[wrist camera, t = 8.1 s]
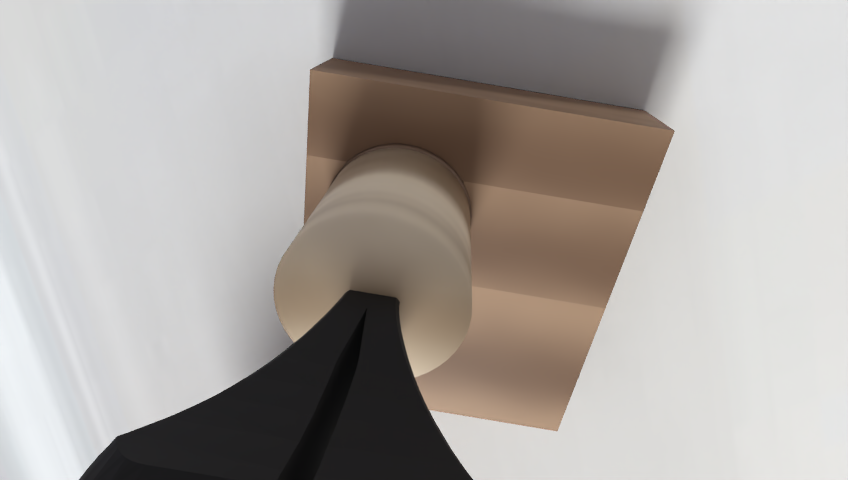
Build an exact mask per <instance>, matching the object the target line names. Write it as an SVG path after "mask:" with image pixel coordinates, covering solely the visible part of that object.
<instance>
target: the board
mask: <svg viewBox="0 0 848 480" xmlns="http://www.w3.org/2000/svg"><path fill="white" fill-rule="evenodd" d="M673 134H674V130H673V129H671V128H670V127H668V126H667V125H665V124H664V123H662V122H661V121H659V120H658V119H656V118H655V117H653V116H652V115H650V114H649V113H647V112H646V111H644V110H638V109H632V108H626V107H620V106H614V105H608V104H602V103H596V102H590V101H584V100H578V99H573V98H567V97H561V96H555V95H549V94H543V93H537V92H531V91H525V90H519V89H513V88H507V87H501V86H495V85H489V84H483V83H477V82H472V81H466V80H460V79H454V78H448V77H442V76H436V75H430V74H424V73H418V72H412V71H406V70H400V69H394V68H388V67H382V66H376V65H371V64H365V63H359V62H353V61H347V60H341V59H335V58H332V59H330V60H328V61H326V62H324V63H322V64H320V65H318V66H316V67H314V68H312V69H310V87H309V112H308V137H307V162H306V187H305V212H304V224H305V223H306V221H307V220H308V218H309V217H310V215H311V214H312V213H313V211H314V210H315V208H316V207H317V205H318V204H319V202H320V201H321V199H322V198H323V196H324V195H325V193H326V192H327V190H328V189H329V187H330V185H331V183H332V181H333V179H334V178H335V176H336V175H337V173H338V172H339V170H340V169H341V168H342V167H343V166H344V164H345V163H346V162H347V161H349V160H350V159H351V158H352V157H354V156H355V155H357V154H358V153H360V152H362V151H364V150H366V149H368V148H371V147H374V146H378V145H383V144H390V143H401V144H408V145H413V146H417V147H421V148H423V149H426V150H428V151H430V152H432V153H434V154H436V155H438V156H439V157H441V158H442V159H443V160H445V161H446V162H447V163H448V164H449V165H450V166H451V167H452V168H453V169H454V170H455V171H456V172H457V174H458V175H459V176H460V178H461V179H462V181H463V183H464V185H465V187H466V189H467V192H468V195H469V198H470V203H471V213H472V217H471V229H470V230H471V272H472V316H471V322H470V326H469V329H468V332H467V334H466V336H465V338H464V340H463V342H462V344H461V345H460V346H459V348H458V349H457V350H456V352H455V353H454V354H453V355H452V356H451V357H450V358H449V359H448V360H447V361H445V362H444V363H443V364H441V365H440V366H439V367H437V368H435V369H433V370H431V371H430V372H428V373H425V374H423V375H420V376H418V377H415V380H416V382H417V385H418V387H419V390H420V392H421V394H422V396H423V399H424V401H425V403H426V405H427V407H428V409H429V410H433V411H439V412H445V413H451V414H457V415H463V416H469V417H475V418H481V419H487V420H493V421H499V422H505V423H511V424H517V425H523V426H529V427H535V428H541V429H547V430H553V431H558V428H559V425H560V423H561V420H562V418H563V415H564V413H565V410H566V408H567V405H568V402H569V400H570V397H571V395H572V392H573V390H574V387H575V385H576V382H577V379H578V377H579V374H580V372H581V369H582V367H583V364H584V362H585V359H586V356H587V354H588V351H589V349H590V346H591V344H592V341H593V339H594V336H595V333H596V331H597V328H598V326H599V323H600V321H601V318H602V316H603V313H604V310H605V308H606V305H607V303H608V300H609V298H610V295H611V292H612V290H613V287H614V285H615V282H616V280H617V277H618V275H619V272H620V269H621V267H622V264H623V262H624V259H625V257H626V254H627V252H628V249H629V246H630V244H631V241H632V239H633V236H634V234H635V231H636V229H637V226H638V223H639V221H640V218H641V216H642V213H643V211H644V208H645V206H646V203H647V200H648V198H649V195H650V193H651V190H652V188H653V185H654V183H655V180H656V177H657V175H658V172H659V170H660V167H661V165H662V162H663V160H664V157H665V154H666V152H667V149H668V147H669V144H670V142H671V139H672V137H673Z"/></svg>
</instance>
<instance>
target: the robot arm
mask: <svg viewBox="0 0 848 480" xmlns="http://www.w3.org/2000/svg"><path fill="white" fill-rule="evenodd" d="M399 305H400V301H399V300H398V299H397V298H396V297H390V296H384V295H378V294H372V293H366V292H360V291H354V290H349V291H347V292H346V293H345V294H344V295H343V296H342V297H341V298H340V299H339V301H338V302H337V303H336V304H335V305H334V306H333V307H332V308H331V309H330V310H329V311H328V312H327V313H326V314H325V315H324V316H323V317H322V318H321V319H320V320H319V321H318V322H317V323H316V324H315V325H314V326H313V327H312V328H311V329H310V330H309V331H308V332H306V333H305V334H304V335H303V336H302V337H301V338H299V339H298V340H297V341H296V342H295V343H293V344H292V345H291V346H290V347H289V348H287V349H286V350H285V351H284V352H282V353H281V354H280V355H278V356H277V357H276V358H274V359H273V360H272V361H270V362H269V363H268V364H266V365H265V366H263V367H262V368H260V369H259V370H257V371H256V372H254V373H253V374H251V375H250V376H248V377H246V378H245V379H243V380H241V381H240V382H238V383H236V384H235V385H233V386H231V387H230V388H228V389H226V390H224V391H223V392H221V393H219V394H217V395H215V396H213V397H211V398H209V399H207V400H205V401H203V402H201V403H199V404H197V405H195V406H193V407H190V408H188V409H186V410H184V411H182V412H179V413H177V414H175V415H172V416H170V417H168V418H165V419H163V420H160V421H157V422H155V423H152V424H149V425H147V426H144V427H142V428H139V429H136V430H134V431H131V432H128V433H125V434H123V435H120V436H117V437H116V438H115V439H114V440H113V442H112V443H111V444H110V445H109V446H108V447H107V448H106V449H105V450H104V451H103V452H102V453H101V454H100V455H99V456H98V457H97V458H96V460H95V461H94V462H93V463H92V464H91V465H90V467H89V468H88V469H87V470H86V471H85V473H84V474H83V475H82V477H81V478H80V479H79V480H473V479H472V478H471V477H470V475H469V474H468V473H467V471H466V470H465V469H464V467H463V466H462V464H461V463H460V461H459V460H458V458H457V457H456V456H455V454H454V453H453V451H452V450H451V448H450V446H449V445H448V443H447V441H446V440H445V438H444V436H443V435H442V433H441V431H440V430H439V428H438V426H437V425H436V423H435V421H434V419H433V417H432V415H431V413H430V411H429V409H428V407H427V405H426V403H425V401H424V399H423V396H422V394H421V392H420V390H419V387H418V385H417V382H416V380H415V377H414V374H413V371H412V368H411V365H410V362H409V359H408V356H407V352H406V348H405V344H404V340H403V336H402V331H401V325H400V316H399Z"/></svg>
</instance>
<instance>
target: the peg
mask: <svg viewBox="0 0 848 480" xmlns="http://www.w3.org/2000/svg"><path fill="white" fill-rule="evenodd" d="M471 217H472V213H471V203H470V198H469V195H468V192H467V189H466V187H465V185H464V183H463V181H462V179H461V178H460V176H459V175H458V174H457V172H456V171H455V170H454V169H453V168H452V167H451V166H450V165H449V164H448V163H447V162H446V161H445V160H443V159H442V158H441V157H439V156H438V155H436V154H434V153H432V152H430V151H428V150H426V149H423V148H421V147H417V146H413V145H408V144H401V143H390V144H383V145H378V146H374V147H371V148H368V149H366V150H364V151H362V152H360V153H358V154H357V155H355V156H354V157H352V158H351V159H350V160H349V161H347V162H346V163H345V164H344V166H343V167H342V168H341V169H340V170H339V172H338V173H337V175H336V176H335V178H334V179H333V181H332V183H331V185H330V187H329V189H328V190H327V192H326V193H325V195H324V196H323V198H322V199H321V201H320V202H319V204H318V205H317V207H316V208H315V210H314V211H313V213H312V214H311V215H310V217H309V218H308V220H307V221H306V223H305V224H304V226H303V227H302V229H301V230H300V232H299V233H298V235H297V236H296V237H295V239H294V240H293V242H292V243H291V245H290V246H289V248H288V249H287V251H286V252H285V254H284V255H283V257H282V259H281V261H280V263H279V265H278V268H277V271H276V275H275V280H274V301H275V306H276V311H277V313H278V316H279V319H280V321H281V323H282V325H283V327H284V329H285V331H286V332H287V334H288V335H289V337H290V338H291V339H292V341H293V342H294V343H295V342H296V341H297V340H298V339H299V338H301V337H302V336H303V335H304V334H305V333H306V332H308V331H309V330H310V329H311V328H312V327H313V326H314V325H315V324H316V323H317V322H318V321H319V320H320V319H321V318H322V317H323V316H324V315H325V314H326V313H327V312H328V311H329V310H330V309H331V308H332V307H333V306H334V305H335V304H336V303H337V302H338V301H339V299H340V298H341V297H342V296H343V295H344V294H345V293H346V292H347V291H349V290H354V291H360V292H366V293H372V294H378V295H384V296H390V297H396V298H397V299H398V300H399V301H400V305H399V316H400V325H401V331H402V336H403V340H404V344H405V348H406V352H407V356H408V359H409V362H410V365H411V368H412V371H413V374H414V377H418V376H420V375H423V374H425V373H428V372H430V371H431V370H433V369H435V368H437V367H439V366H440V365H441V364H443V363H444V362H445V361H447V360H448V359H449V358H450V357H451V356H452V355H453V354H454V353H455V352H456V350H457V349H458V348H459V346H460V345H461V344H462V342H463V340H464V338H465V336H466V334H467V332H468V329H469V326H470V322H471V316H472V272H471V230H470V229H471Z"/></svg>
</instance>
